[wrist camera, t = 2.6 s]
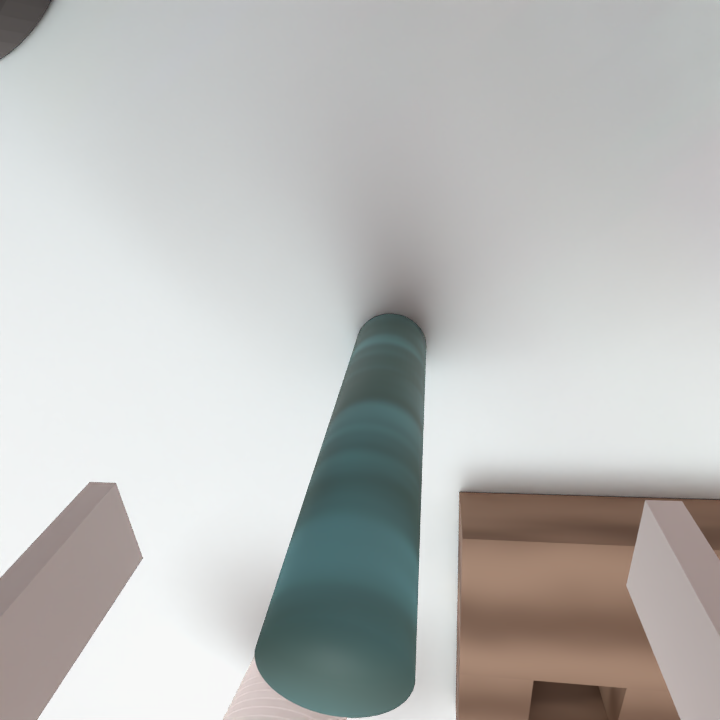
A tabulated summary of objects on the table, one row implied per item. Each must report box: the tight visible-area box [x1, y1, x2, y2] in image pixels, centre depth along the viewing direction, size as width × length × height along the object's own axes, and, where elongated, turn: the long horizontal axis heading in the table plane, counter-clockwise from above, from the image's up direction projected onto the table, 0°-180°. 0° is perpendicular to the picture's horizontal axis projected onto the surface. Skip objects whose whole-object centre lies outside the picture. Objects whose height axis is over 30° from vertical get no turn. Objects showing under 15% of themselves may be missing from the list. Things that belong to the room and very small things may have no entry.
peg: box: [255, 314, 426, 718], centre depth 15 cm, size 3×3×14 cm
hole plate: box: [456, 492, 720, 720], centre depth 26 cm, size 18×12×3 cm, turn 5°
